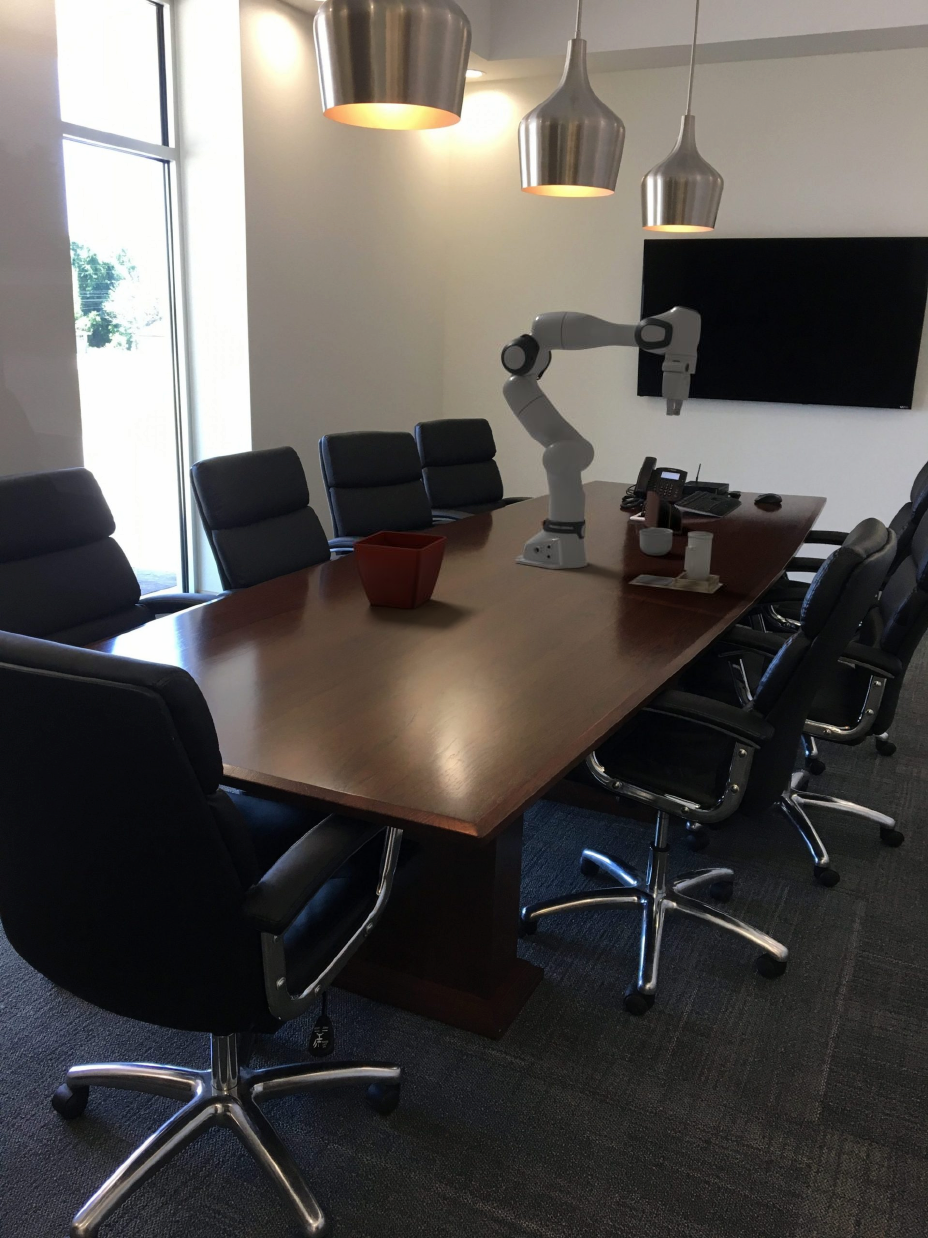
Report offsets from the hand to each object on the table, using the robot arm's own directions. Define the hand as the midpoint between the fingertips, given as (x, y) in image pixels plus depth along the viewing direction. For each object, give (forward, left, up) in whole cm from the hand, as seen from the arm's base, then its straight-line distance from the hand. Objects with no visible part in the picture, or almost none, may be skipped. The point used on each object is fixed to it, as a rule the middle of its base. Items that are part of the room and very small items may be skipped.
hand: (673, 415), depth 288 cm
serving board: (+8, -13, -47) cm, 50 cm away
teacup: (-11, +33, -48) cm, 59 cm away
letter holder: (-21, +79, -48) cm, 94 cm away
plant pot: (-52, -66, -48) cm, 97 cm away
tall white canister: (+13, -15, -46) cm, 50 cm away
